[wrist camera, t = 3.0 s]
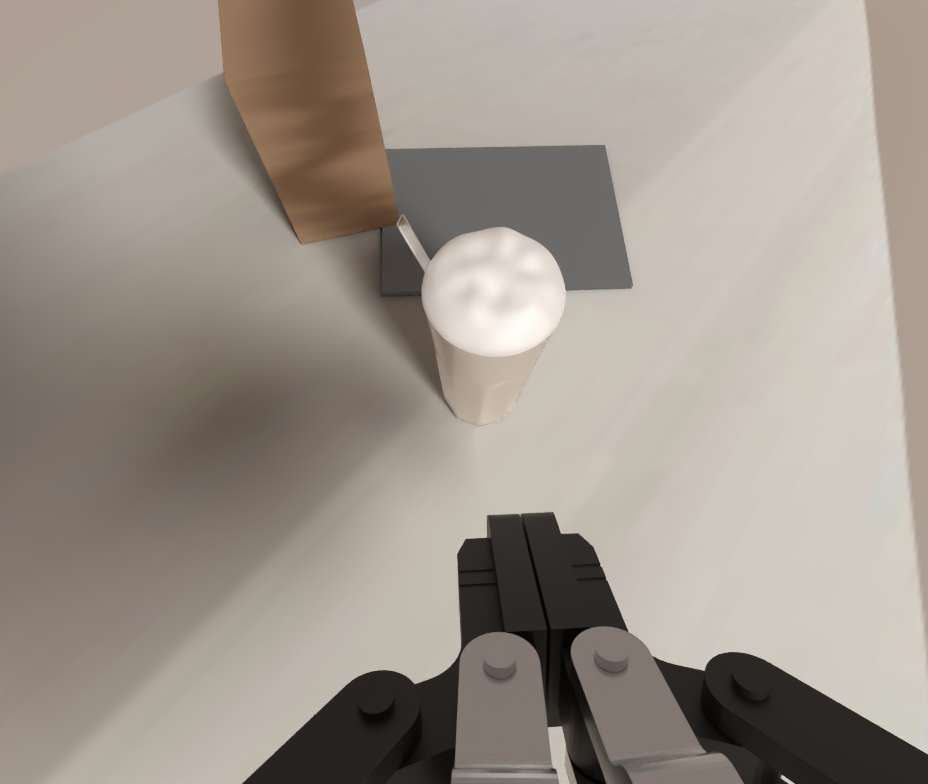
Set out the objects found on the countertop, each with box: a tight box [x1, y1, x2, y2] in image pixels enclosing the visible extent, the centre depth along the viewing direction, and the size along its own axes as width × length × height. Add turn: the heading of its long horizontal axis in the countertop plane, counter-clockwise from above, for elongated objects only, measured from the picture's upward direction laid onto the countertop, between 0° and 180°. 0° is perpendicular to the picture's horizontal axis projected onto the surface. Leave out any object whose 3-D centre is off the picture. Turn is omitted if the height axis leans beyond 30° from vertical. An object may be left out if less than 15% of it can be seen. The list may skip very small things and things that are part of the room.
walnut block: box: [218, 0, 399, 244], centre depth 25 cm, size 5×5×9 cm
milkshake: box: [397, 214, 566, 426], centre depth 21 cm, size 4×5×10 cm
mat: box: [382, 145, 633, 296], centre depth 29 cm, size 12×9×1 cm
